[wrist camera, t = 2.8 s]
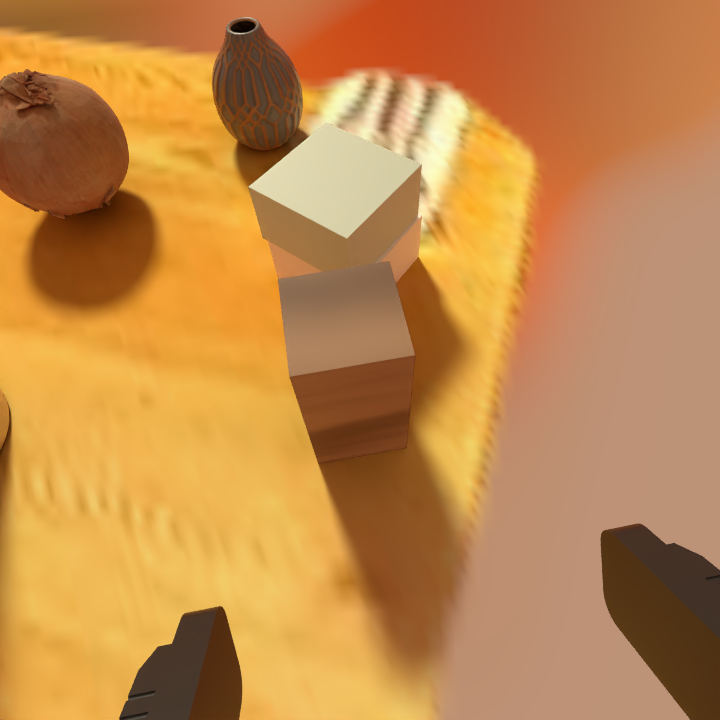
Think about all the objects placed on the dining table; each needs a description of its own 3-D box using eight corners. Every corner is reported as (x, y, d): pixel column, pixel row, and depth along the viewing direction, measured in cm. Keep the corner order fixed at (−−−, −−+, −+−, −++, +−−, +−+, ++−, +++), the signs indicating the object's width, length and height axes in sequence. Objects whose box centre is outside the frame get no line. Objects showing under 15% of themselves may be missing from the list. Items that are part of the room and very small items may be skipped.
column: (406, 447, 29) (415, 354, 20) (318, 463, 29) (289, 376, 20) (388, 371, 31) (389, 260, 23) (307, 385, 31) (278, 279, 23)
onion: (172, 176, 42) (117, 48, 33) (102, 258, 37) (17, 136, 29) (78, 151, 44) (3, 25, 35) (1, 227, 39) (-106, 104, 31)
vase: (305, 161, 42) (287, 50, 34) (221, 163, 42) (185, 54, 35) (309, 109, 45) (294, -2, 38) (232, 112, 46) (202, 3, 38)
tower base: (360, 326, 33) (357, 287, 30) (278, 280, 36) (267, 239, 32) (418, 258, 36) (421, 215, 33) (338, 219, 38) (334, 175, 35)
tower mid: (351, 287, 30) (346, 238, 27) (262, 237, 32) (248, 186, 29) (417, 217, 33) (421, 164, 29) (331, 175, 35) (326, 122, 32)
